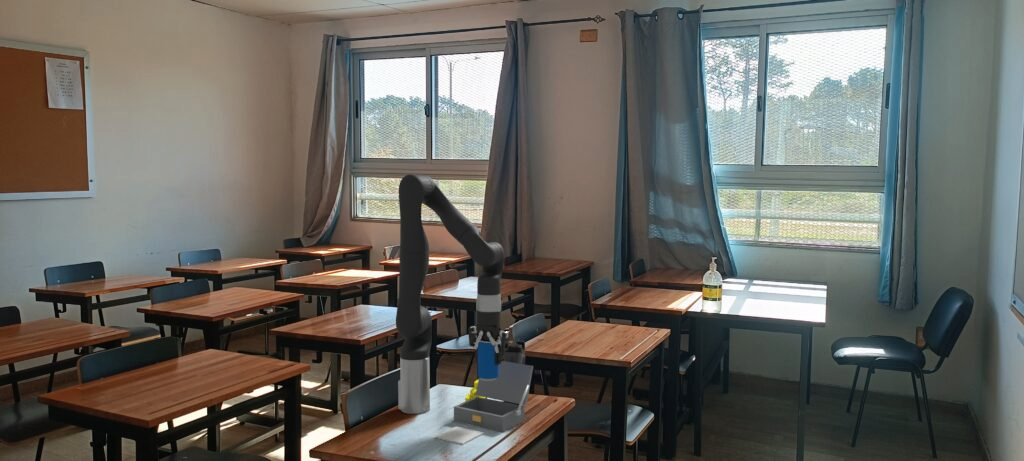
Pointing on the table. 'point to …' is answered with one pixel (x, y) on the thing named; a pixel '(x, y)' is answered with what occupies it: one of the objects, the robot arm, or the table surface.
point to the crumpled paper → (473, 392)
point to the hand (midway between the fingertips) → (488, 362)
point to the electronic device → (515, 354)
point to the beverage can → (487, 361)
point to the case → (505, 388)
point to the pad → (459, 435)
